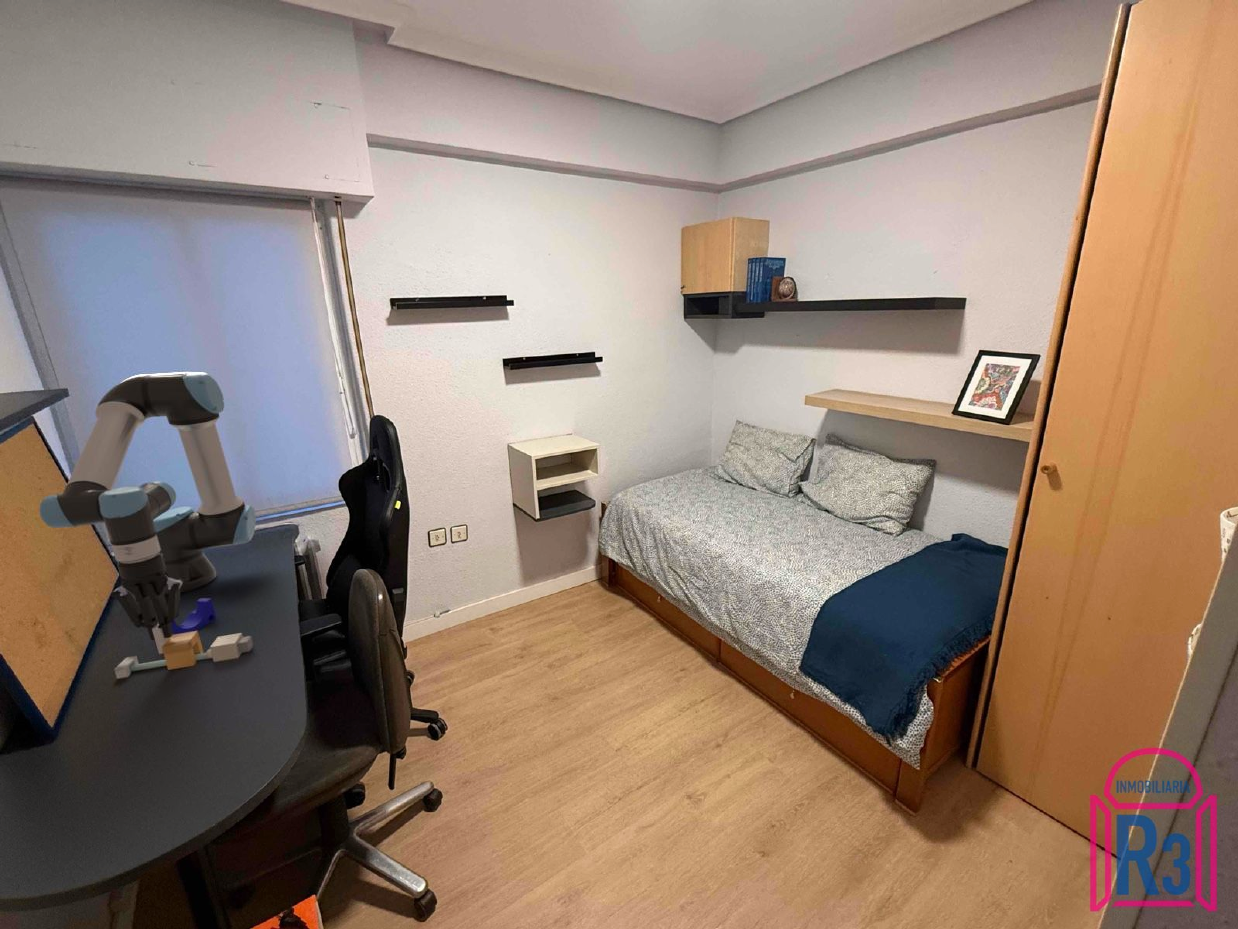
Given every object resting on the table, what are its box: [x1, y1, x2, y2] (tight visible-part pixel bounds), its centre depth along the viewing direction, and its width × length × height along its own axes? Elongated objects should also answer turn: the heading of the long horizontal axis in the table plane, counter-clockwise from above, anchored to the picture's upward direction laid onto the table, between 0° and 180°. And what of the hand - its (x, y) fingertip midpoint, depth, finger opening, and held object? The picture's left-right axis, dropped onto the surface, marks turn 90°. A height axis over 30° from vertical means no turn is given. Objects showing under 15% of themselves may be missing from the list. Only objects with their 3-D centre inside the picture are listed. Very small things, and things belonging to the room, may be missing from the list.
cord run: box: [114, 632, 254, 679], centre depth 124 cm, size 26×5×4 cm, turn 107°
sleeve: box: [162, 630, 205, 671], centre depth 124 cm, size 5×5×6 cm
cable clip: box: [171, 597, 217, 635], centre depth 137 cm, size 12×4×6 cm, turn 172°
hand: (166, 650), depth 123 cm, fingers closed
